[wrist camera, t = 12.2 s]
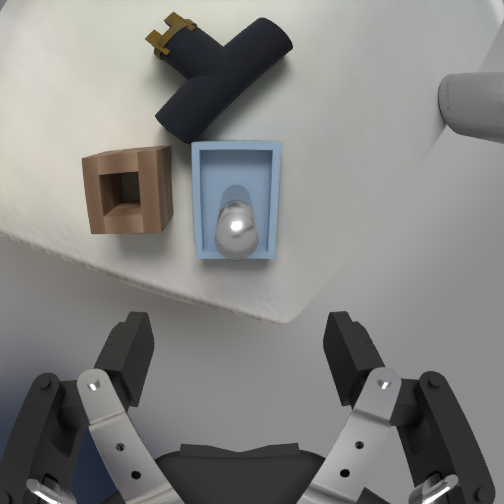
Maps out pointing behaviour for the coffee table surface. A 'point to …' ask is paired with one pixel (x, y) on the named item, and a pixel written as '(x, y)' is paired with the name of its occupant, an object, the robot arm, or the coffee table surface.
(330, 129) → the coffee table surface
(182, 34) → the pipe connector
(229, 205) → the pin
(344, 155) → the coffee table surface
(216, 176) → the tray
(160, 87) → the coffee table surface
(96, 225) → the pin block
